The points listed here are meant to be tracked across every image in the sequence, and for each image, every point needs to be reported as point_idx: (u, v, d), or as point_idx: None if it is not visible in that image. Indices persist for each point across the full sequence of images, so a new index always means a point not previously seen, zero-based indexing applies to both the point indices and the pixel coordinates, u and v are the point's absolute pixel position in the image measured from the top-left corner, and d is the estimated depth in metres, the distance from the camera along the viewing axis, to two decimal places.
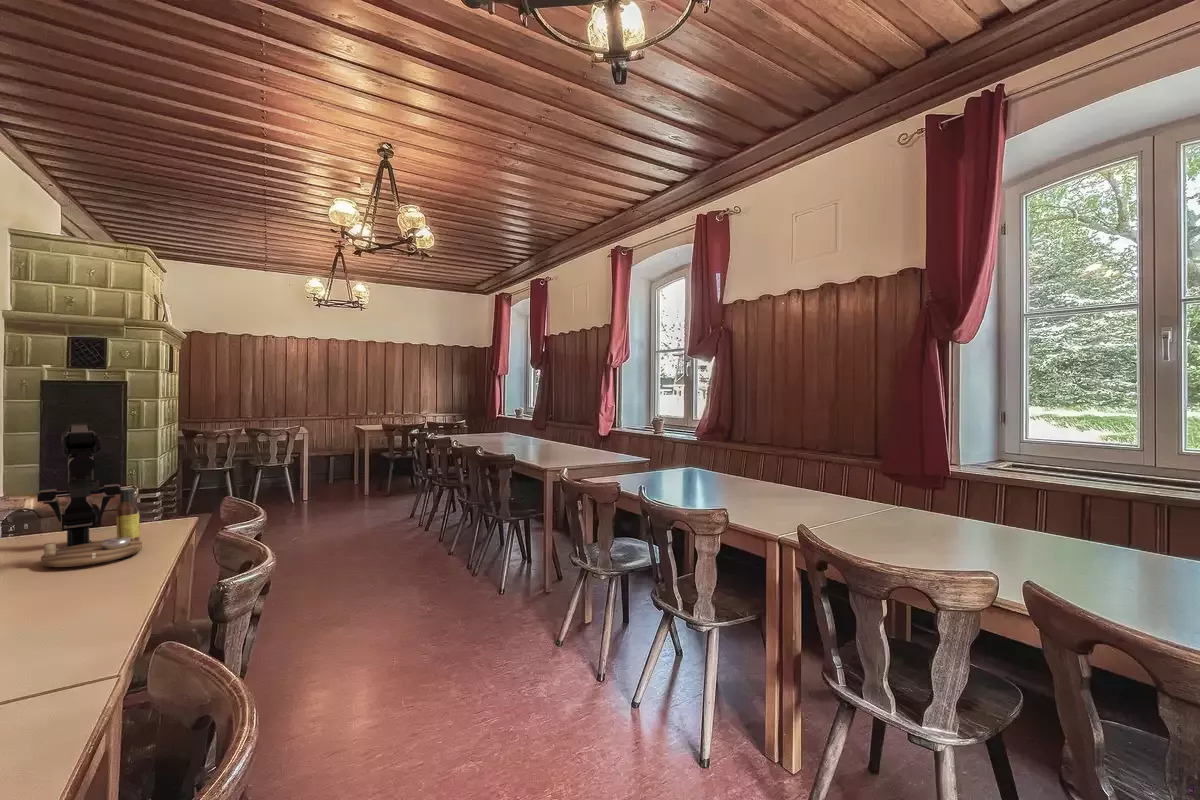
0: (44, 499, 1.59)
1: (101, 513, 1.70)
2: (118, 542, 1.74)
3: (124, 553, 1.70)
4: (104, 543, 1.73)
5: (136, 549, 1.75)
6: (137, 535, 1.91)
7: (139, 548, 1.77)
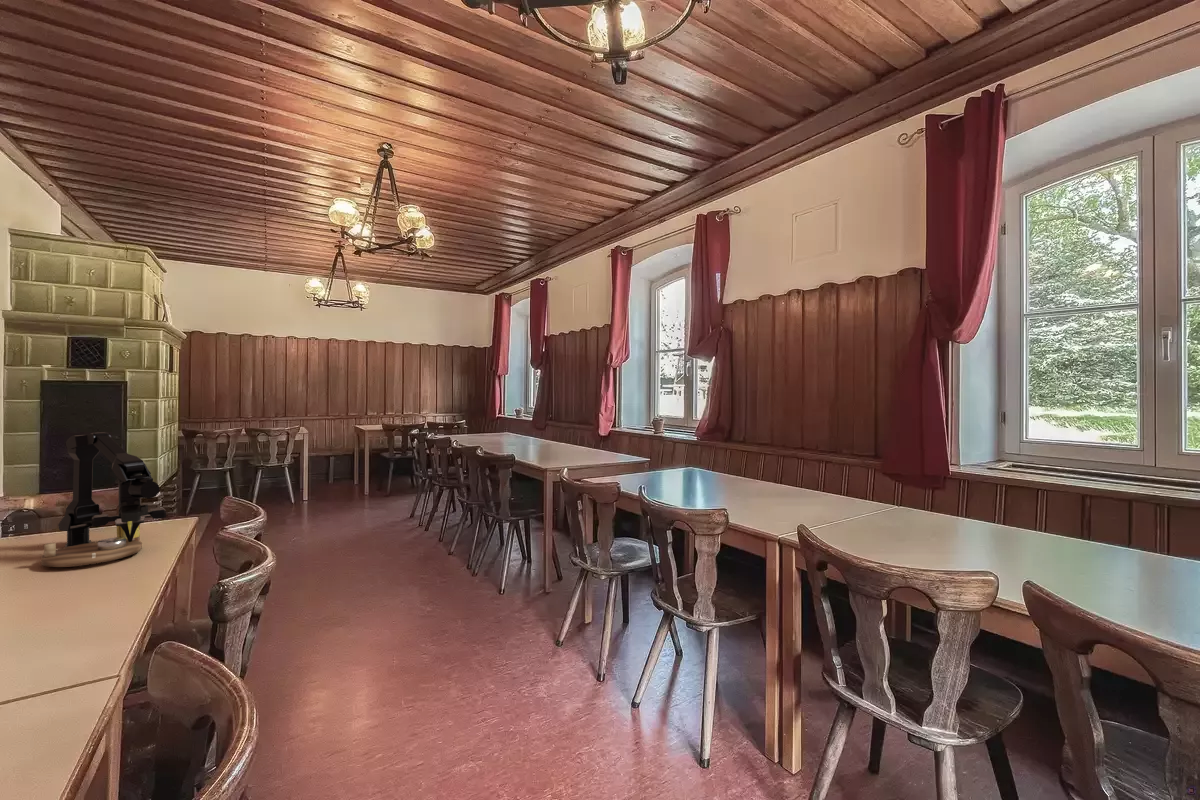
0: (98, 524, 1.71)
1: (131, 538, 1.78)
2: (113, 543, 1.73)
3: (124, 553, 1.70)
4: (99, 544, 1.72)
5: (136, 549, 1.75)
6: (137, 535, 1.91)
7: (139, 548, 1.77)
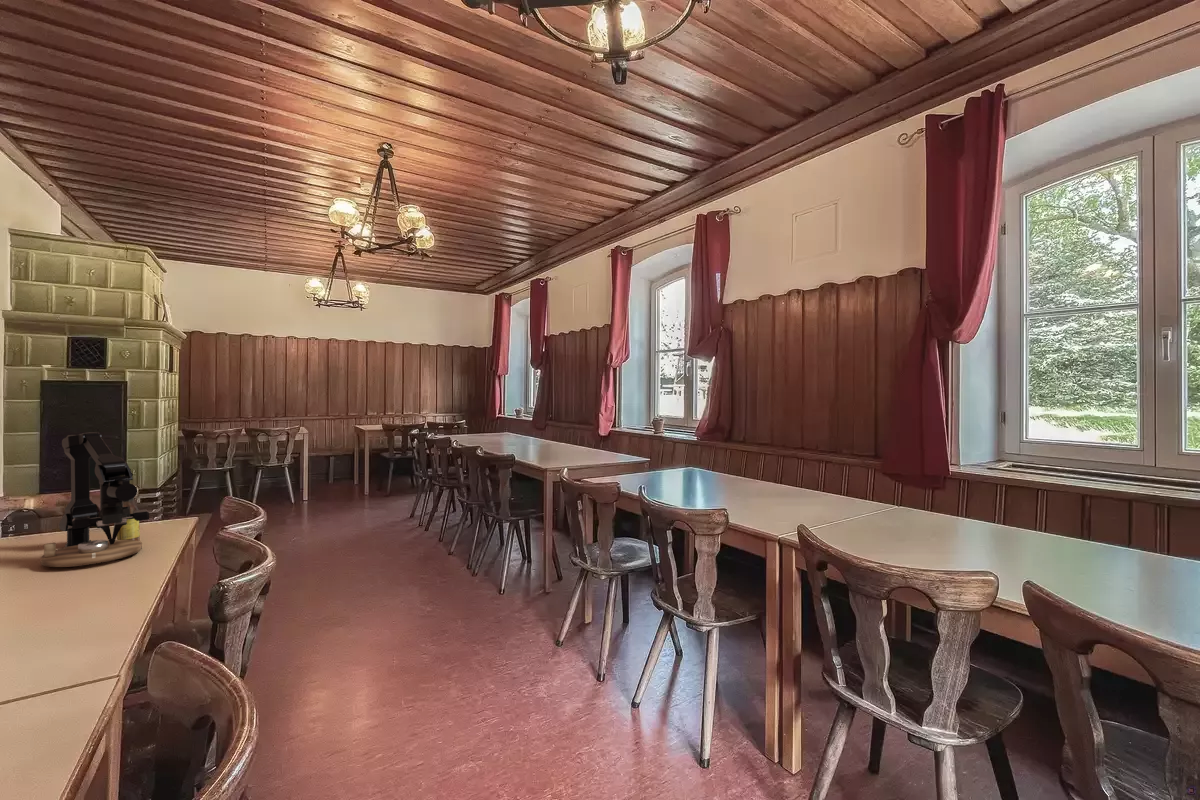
0: (78, 526, 1.68)
1: (113, 540, 1.75)
2: (95, 545, 1.70)
3: (124, 553, 1.70)
4: (80, 546, 1.69)
5: (136, 549, 1.75)
6: (137, 535, 1.91)
7: (139, 548, 1.77)
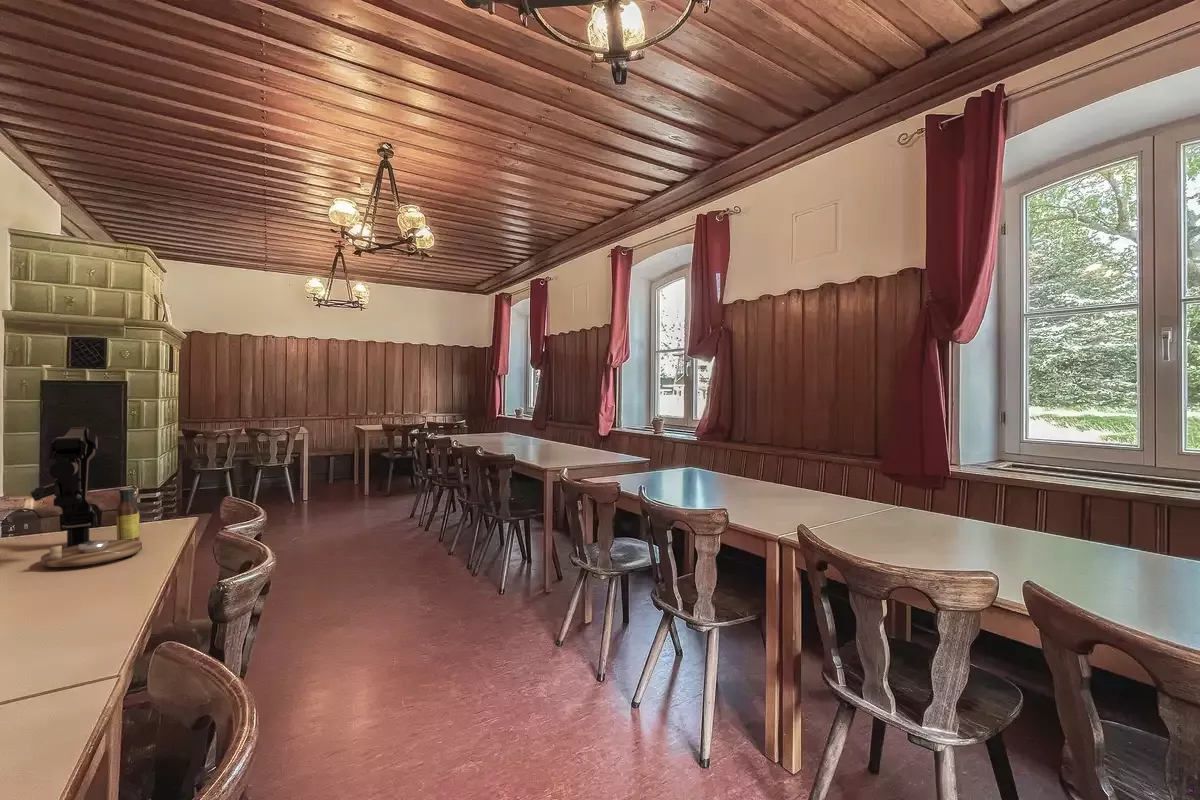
0: None
1: (65, 519, 1.71)
2: (102, 544, 1.72)
3: (139, 547, 1.77)
4: (87, 546, 1.69)
5: (141, 544, 1.81)
6: (137, 535, 1.91)
7: None
